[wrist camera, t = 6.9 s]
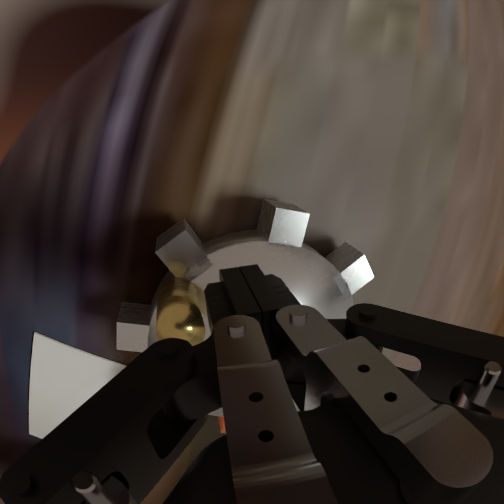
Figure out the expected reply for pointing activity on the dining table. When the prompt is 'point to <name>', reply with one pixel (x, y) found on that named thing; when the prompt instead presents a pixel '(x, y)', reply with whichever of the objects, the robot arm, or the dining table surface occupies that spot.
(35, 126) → the dining table surface
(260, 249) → the sprocket
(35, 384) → the pad
